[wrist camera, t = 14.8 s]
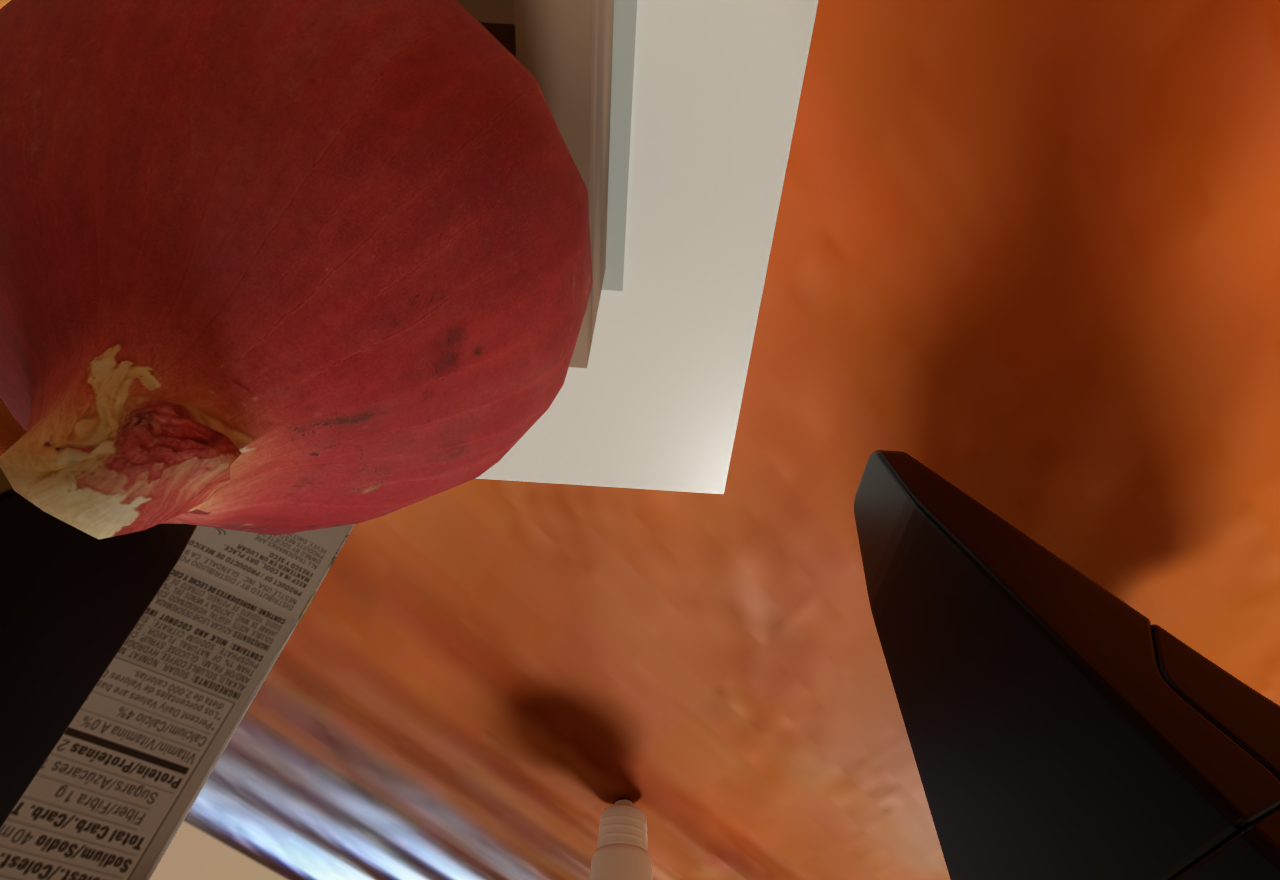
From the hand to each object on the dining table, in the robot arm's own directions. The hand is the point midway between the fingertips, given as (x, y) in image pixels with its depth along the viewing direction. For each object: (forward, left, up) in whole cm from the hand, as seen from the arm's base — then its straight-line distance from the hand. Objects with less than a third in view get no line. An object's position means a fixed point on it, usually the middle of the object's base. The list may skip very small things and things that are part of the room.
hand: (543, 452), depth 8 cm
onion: (+3, +3, -4) cm, 5 cm away
